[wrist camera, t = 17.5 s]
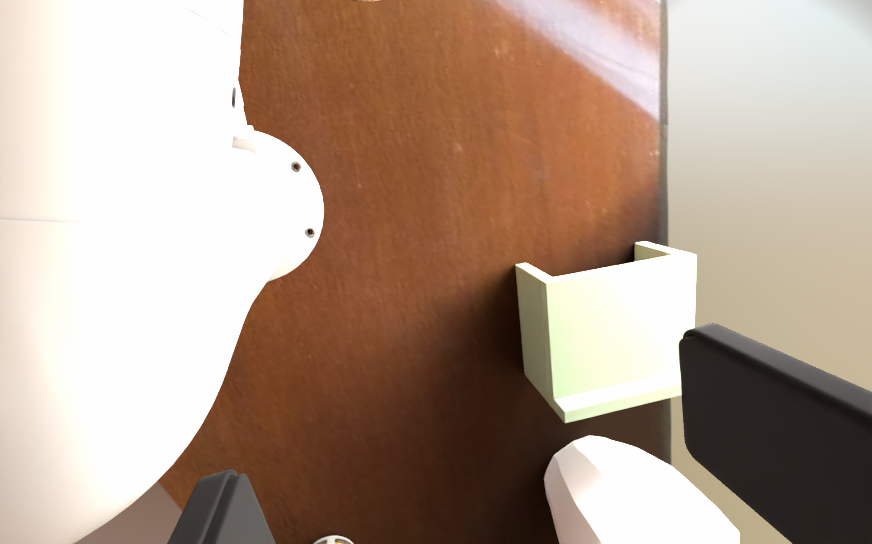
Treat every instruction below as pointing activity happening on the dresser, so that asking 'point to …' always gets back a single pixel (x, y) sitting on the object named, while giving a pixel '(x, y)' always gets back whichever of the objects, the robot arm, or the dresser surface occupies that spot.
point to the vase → (627, 499)
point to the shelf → (607, 331)
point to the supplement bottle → (333, 540)
